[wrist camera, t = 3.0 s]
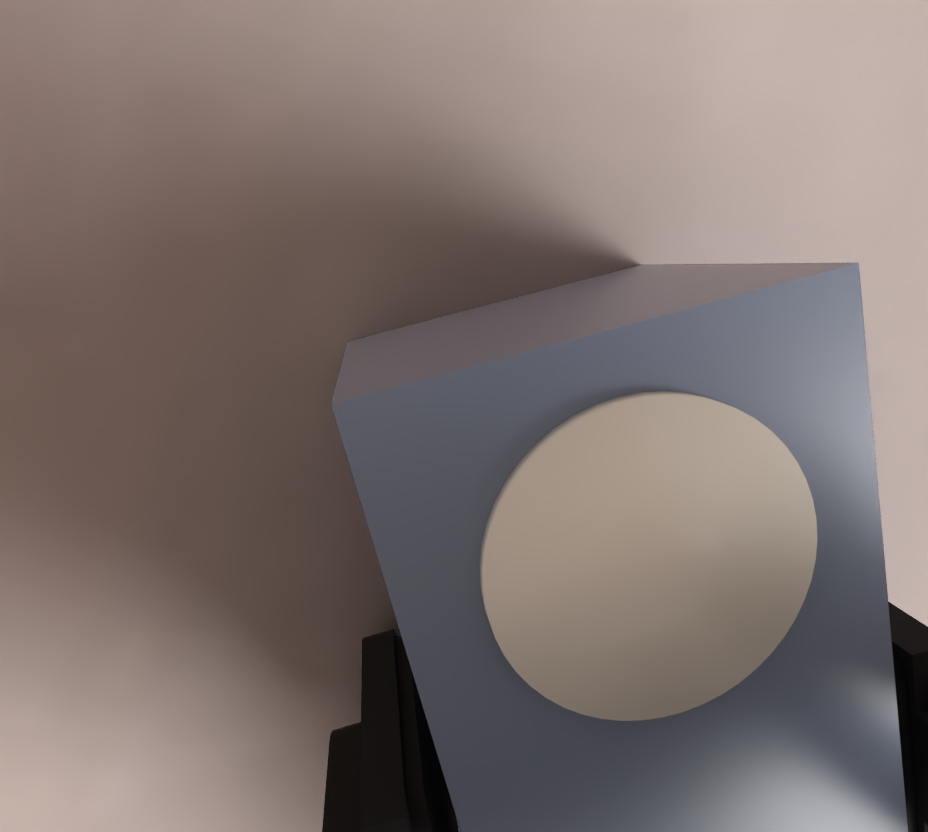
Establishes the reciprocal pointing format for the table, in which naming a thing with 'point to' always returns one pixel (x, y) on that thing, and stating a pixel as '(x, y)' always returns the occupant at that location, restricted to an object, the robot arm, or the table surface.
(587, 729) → the block
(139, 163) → the table surface
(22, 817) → the table surface
